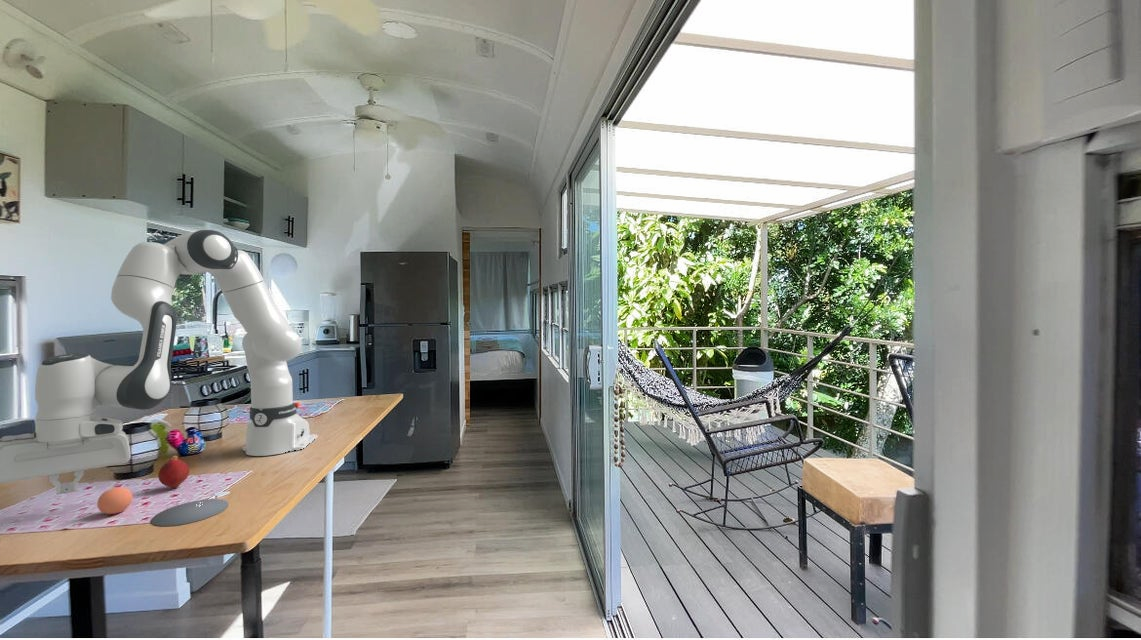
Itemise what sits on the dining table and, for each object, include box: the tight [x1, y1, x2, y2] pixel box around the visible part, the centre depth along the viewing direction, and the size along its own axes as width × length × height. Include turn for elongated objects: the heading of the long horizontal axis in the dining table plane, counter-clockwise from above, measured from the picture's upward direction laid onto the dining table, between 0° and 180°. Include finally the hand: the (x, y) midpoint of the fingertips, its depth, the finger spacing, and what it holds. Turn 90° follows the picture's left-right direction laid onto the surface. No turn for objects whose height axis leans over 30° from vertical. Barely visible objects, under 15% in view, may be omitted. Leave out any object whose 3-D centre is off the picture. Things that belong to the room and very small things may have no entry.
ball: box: [97, 486, 133, 515], centre depth 101 cm, size 6×6×6 cm
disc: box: [151, 498, 229, 527], centre depth 101 cm, size 13×13×1 cm
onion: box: [158, 455, 190, 489], centre depth 115 cm, size 6×6×8 cm
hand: (66, 492), depth 101 cm, fingers closed
